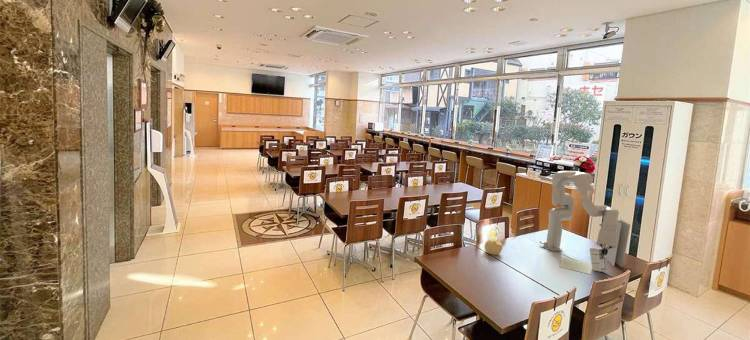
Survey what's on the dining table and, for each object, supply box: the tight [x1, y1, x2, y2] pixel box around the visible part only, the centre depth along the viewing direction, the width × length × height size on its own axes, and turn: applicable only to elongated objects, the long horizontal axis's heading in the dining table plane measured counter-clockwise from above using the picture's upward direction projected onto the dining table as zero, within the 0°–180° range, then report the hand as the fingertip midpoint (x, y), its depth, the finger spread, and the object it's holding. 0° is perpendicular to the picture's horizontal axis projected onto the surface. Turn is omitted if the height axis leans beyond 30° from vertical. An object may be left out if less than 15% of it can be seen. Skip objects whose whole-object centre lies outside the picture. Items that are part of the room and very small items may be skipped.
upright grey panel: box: [604, 218, 631, 268], centre depth 248 cm, size 14×6×30 cm, turn 168°
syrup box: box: [589, 246, 607, 272], centre depth 235 cm, size 6×6×14 cm
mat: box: [559, 257, 593, 275], centre depth 241 cm, size 18×20×1 cm
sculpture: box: [484, 238, 503, 256], centre depth 254 cm, size 11×12×11 cm
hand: (604, 254), depth 232 cm, fingers closed
